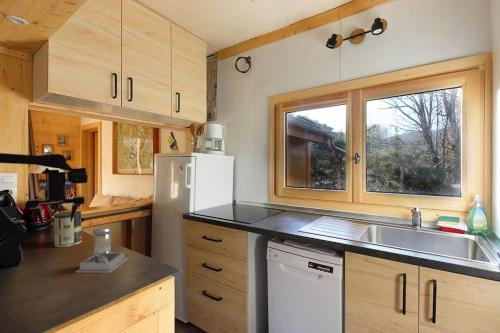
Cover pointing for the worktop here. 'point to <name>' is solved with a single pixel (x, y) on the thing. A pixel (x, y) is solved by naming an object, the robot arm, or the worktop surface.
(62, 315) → the worktop surface
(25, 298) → the worktop surface
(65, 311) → the worktop surface
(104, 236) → the lidded steel tumbler
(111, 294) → the worktop surface
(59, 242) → the coffee can
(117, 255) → the collar
